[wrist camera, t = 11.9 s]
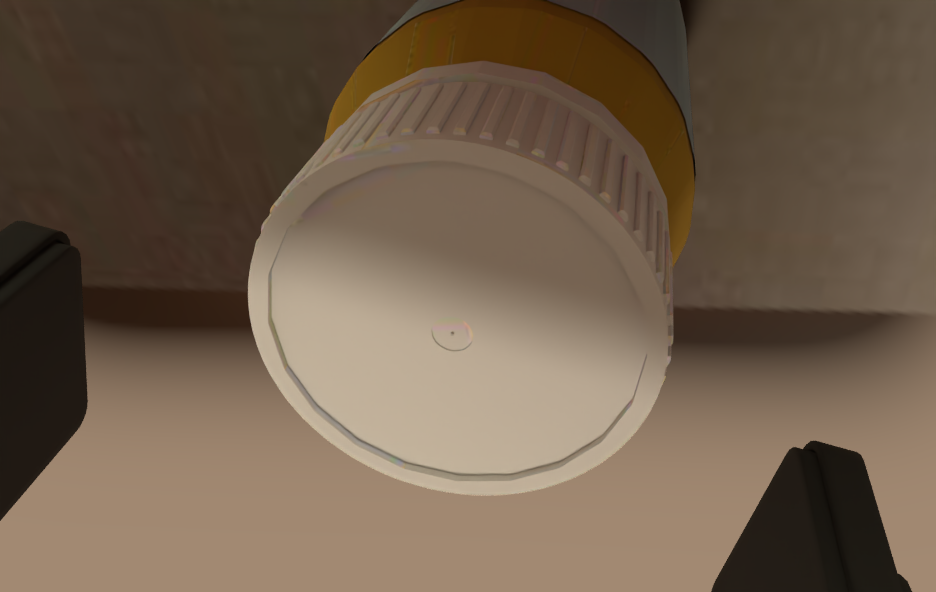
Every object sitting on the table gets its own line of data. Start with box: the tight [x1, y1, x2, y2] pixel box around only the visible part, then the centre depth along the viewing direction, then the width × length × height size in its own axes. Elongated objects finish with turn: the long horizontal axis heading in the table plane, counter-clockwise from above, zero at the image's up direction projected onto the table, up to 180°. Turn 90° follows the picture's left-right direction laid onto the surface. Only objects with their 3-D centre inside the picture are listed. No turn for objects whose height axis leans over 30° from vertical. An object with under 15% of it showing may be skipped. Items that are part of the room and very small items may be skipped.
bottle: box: [248, 0, 696, 495], centre depth 19 cm, size 7×7×15 cm
